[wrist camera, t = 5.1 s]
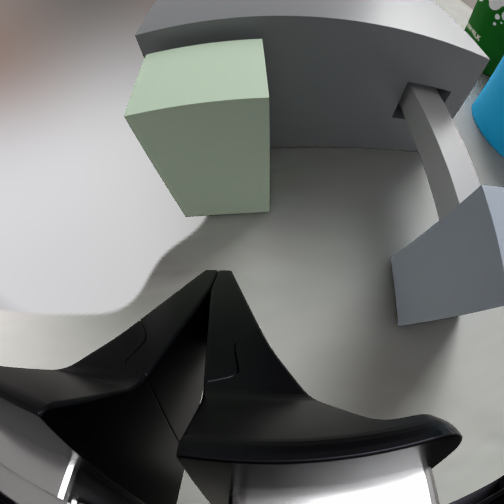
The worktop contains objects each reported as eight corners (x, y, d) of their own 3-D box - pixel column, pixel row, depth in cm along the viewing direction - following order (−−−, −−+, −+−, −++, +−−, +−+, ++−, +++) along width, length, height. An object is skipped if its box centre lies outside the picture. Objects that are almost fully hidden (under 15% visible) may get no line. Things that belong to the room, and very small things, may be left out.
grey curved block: (428, 152, 18) (489, 59, 9) (184, 154, 19) (135, 35, 9) (397, 83, 20) (429, -3, 11) (194, 82, 21) (167, -17, 12)
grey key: (462, 314, 14) (569, 285, 6) (398, 326, 15) (508, 304, 6) (408, 112, 19) (447, 28, 10) (353, 106, 19) (379, 9, 11)
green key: (269, 211, 17) (268, 97, 8) (185, 216, 17) (124, 116, 9) (258, 66, 21) (253, -24, 12) (200, 71, 21) (179, -15, 13)
